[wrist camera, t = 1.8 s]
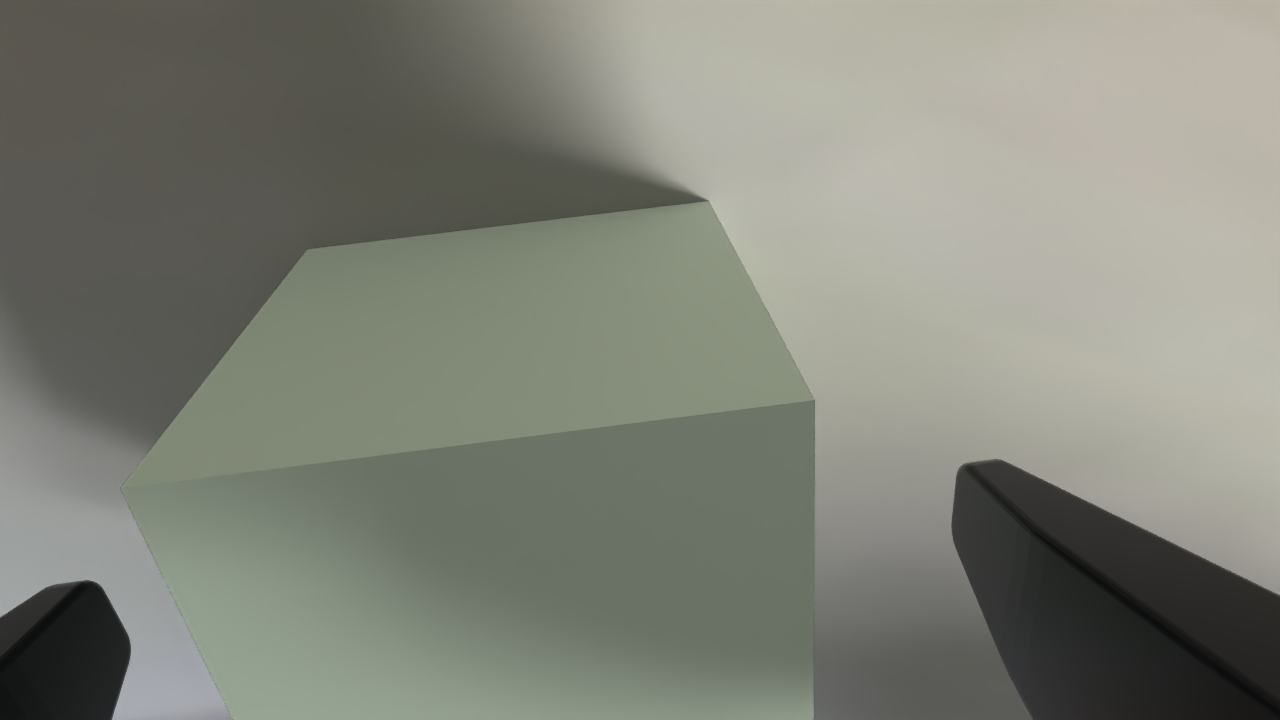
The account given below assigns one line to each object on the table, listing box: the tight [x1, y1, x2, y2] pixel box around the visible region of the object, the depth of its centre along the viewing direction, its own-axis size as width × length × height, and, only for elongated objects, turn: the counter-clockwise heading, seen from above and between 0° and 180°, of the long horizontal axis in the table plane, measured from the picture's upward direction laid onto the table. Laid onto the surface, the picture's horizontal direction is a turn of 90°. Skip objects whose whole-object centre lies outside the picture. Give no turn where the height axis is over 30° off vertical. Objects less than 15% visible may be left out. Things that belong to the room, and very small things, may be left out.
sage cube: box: [120, 201, 815, 720], centre depth 9 cm, size 5×5×5 cm
